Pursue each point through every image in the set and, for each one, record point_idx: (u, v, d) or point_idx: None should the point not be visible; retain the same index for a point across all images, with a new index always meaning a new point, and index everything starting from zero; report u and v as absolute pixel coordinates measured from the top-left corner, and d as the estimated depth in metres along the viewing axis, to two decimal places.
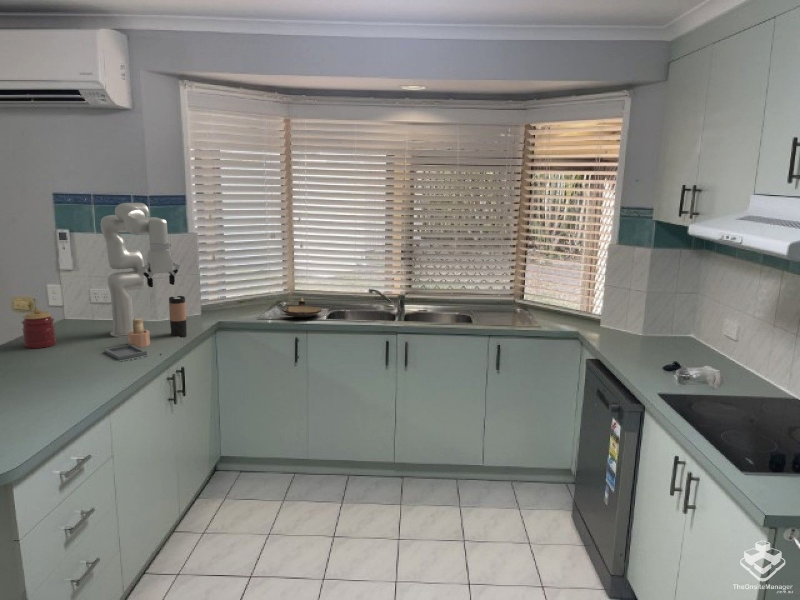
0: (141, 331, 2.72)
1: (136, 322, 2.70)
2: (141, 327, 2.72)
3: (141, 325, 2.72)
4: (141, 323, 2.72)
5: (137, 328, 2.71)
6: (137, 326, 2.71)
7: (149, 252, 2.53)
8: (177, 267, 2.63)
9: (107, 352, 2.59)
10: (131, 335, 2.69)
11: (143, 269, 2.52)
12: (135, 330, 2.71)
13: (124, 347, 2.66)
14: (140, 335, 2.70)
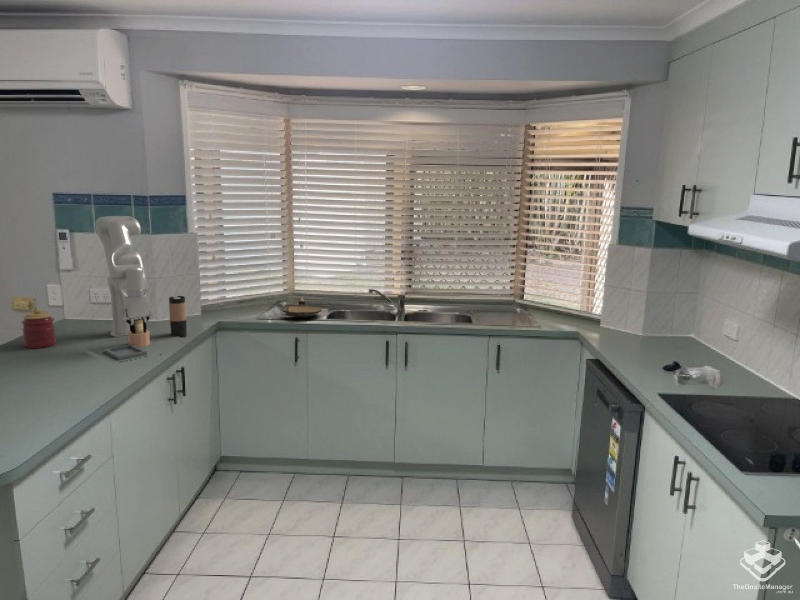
0: (141, 331, 2.72)
1: (136, 322, 2.70)
2: (141, 327, 2.72)
3: (141, 325, 2.72)
4: (141, 323, 2.72)
5: (137, 328, 2.71)
6: (137, 326, 2.71)
7: (126, 299, 2.67)
8: (150, 315, 2.76)
9: (107, 352, 2.59)
10: (131, 335, 2.69)
11: (124, 318, 2.67)
12: (135, 330, 2.71)
13: (124, 347, 2.66)
14: (140, 335, 2.70)
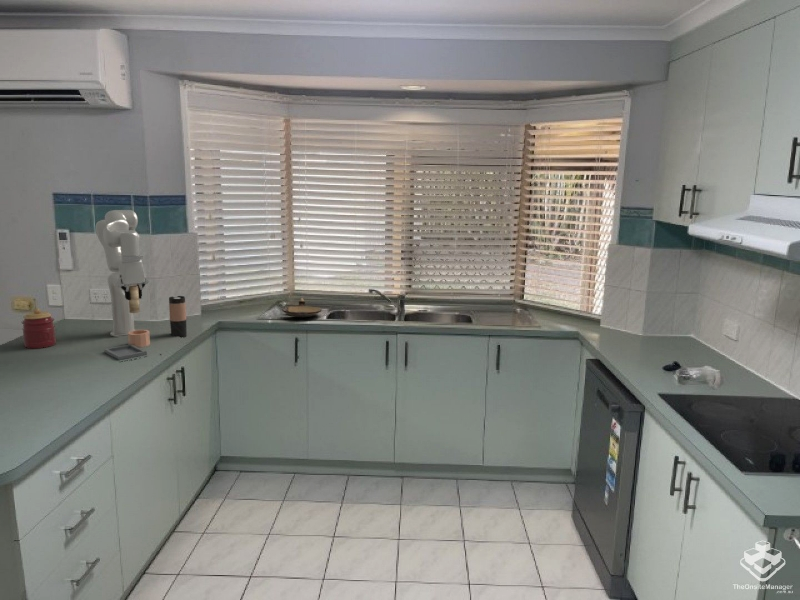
0: (136, 298, 2.66)
1: (131, 288, 2.64)
2: (136, 294, 2.66)
3: (136, 292, 2.66)
4: (136, 290, 2.66)
5: (133, 294, 2.65)
6: (133, 292, 2.64)
7: (121, 264, 2.61)
8: (145, 282, 2.70)
9: (107, 352, 2.59)
10: (131, 335, 2.69)
11: (119, 284, 2.61)
12: (130, 297, 2.65)
13: (124, 347, 2.66)
14: (140, 335, 2.70)
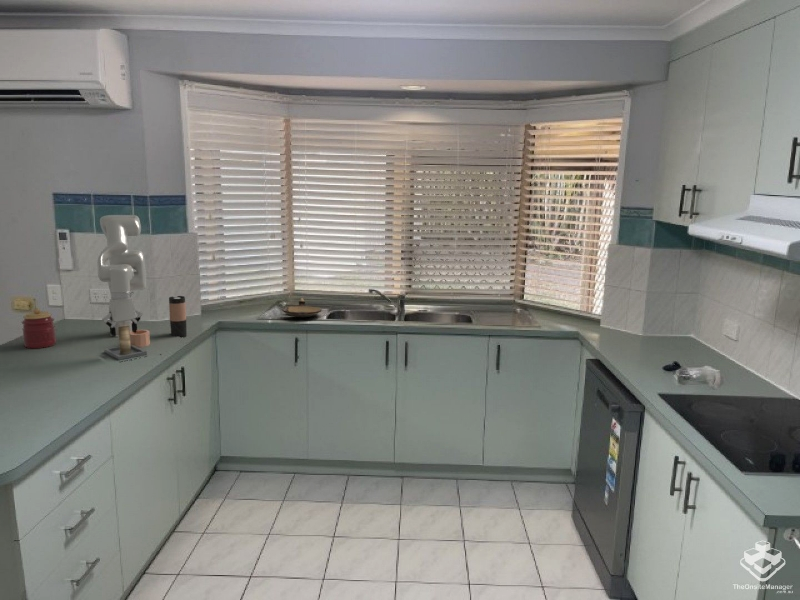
0: (127, 338, 2.58)
1: (122, 329, 2.56)
2: (127, 334, 2.58)
3: (127, 332, 2.58)
4: (127, 330, 2.58)
5: (123, 335, 2.57)
6: (123, 333, 2.57)
7: (111, 301, 2.52)
8: (140, 315, 2.62)
9: (107, 352, 2.59)
10: (131, 335, 2.69)
11: (105, 319, 2.51)
12: (121, 337, 2.57)
13: None
14: (140, 335, 2.70)
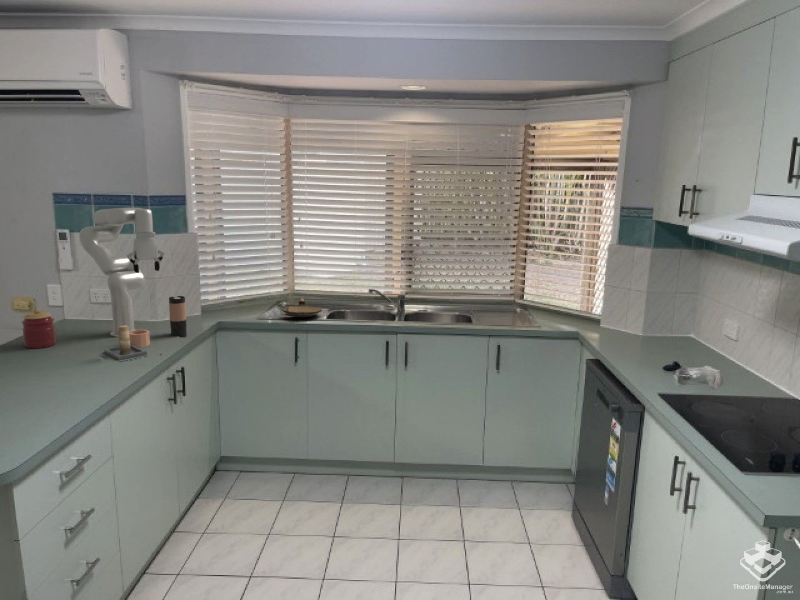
0: (127, 339, 2.58)
1: (121, 329, 2.56)
2: (127, 334, 2.58)
3: (127, 332, 2.58)
4: (127, 330, 2.58)
5: (123, 335, 2.57)
6: (123, 333, 2.56)
7: (135, 240, 2.71)
8: (162, 254, 2.80)
9: (107, 352, 2.59)
10: (131, 335, 2.69)
11: (129, 256, 2.69)
12: (121, 338, 2.57)
13: None
14: (140, 335, 2.70)
